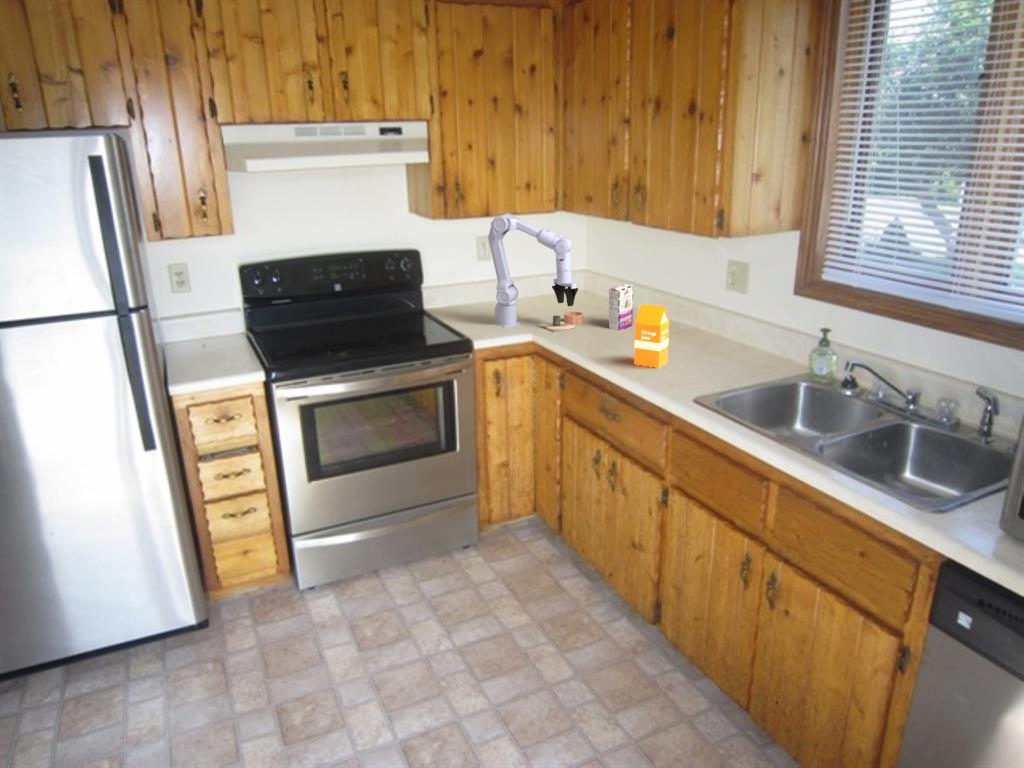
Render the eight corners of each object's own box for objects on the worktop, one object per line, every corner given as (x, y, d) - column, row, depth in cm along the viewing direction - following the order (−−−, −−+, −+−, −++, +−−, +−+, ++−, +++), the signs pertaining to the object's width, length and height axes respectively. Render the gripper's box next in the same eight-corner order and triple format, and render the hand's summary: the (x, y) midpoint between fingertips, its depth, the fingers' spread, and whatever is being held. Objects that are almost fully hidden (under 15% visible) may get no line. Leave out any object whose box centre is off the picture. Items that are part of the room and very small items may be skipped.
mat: (537, 327, 297) (537, 326, 296) (560, 323, 302) (560, 322, 302) (553, 333, 288) (553, 332, 288) (576, 328, 293) (576, 327, 293)
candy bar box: (621, 323, 299) (622, 283, 294) (632, 325, 296) (634, 284, 291) (607, 329, 291) (608, 288, 286) (618, 331, 288) (619, 289, 283)
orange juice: (643, 358, 253) (645, 301, 247) (667, 362, 249) (670, 304, 242) (633, 364, 247) (635, 306, 241) (658, 368, 243) (661, 309, 236)
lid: (539, 326, 296) (539, 315, 295) (559, 322, 301) (559, 312, 300) (553, 331, 288) (553, 320, 287) (574, 327, 293) (574, 317, 292)
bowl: (560, 322, 304) (560, 313, 302) (575, 319, 308) (576, 310, 306) (571, 326, 297) (571, 316, 296) (587, 323, 301) (587, 314, 300)
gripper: (582, 270, 282) (584, 305, 286) (563, 266, 294) (565, 300, 298) (566, 273, 279) (568, 308, 283) (548, 268, 291) (550, 302, 296)
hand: (565, 304), depth 291 cm, fingers open, 7 cm apart
